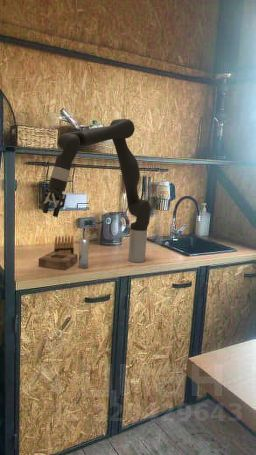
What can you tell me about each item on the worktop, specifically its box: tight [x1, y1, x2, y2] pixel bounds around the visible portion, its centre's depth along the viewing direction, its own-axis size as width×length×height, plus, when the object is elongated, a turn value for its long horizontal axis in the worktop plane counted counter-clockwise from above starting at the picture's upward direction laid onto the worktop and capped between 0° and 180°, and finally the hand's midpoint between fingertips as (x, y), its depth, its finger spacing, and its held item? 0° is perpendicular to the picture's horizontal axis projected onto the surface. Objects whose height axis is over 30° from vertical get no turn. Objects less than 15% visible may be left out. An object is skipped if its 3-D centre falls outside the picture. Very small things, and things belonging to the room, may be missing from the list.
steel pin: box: [78, 238, 90, 270], centre depth 181 cm, size 5×5×14 cm
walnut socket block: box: [38, 250, 79, 271], centre depth 185 cm, size 16×14×4 cm
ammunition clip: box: [53, 234, 75, 254], centre depth 198 cm, size 11×2×12 cm, turn 116°
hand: (49, 214), depth 162 cm, fingers open, 8 cm apart
